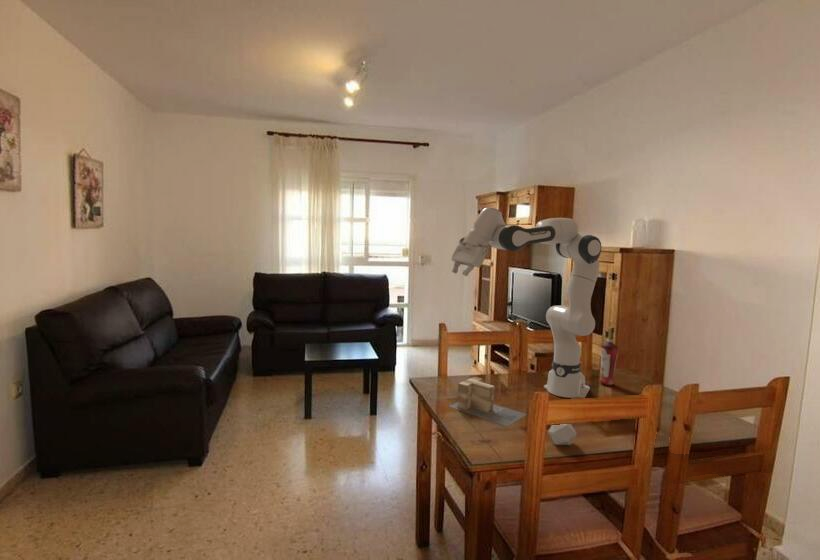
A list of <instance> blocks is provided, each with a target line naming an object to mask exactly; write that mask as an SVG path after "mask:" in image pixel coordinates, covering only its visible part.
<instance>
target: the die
mask: <svg viewBox="0 0 820 560" xmlns="http://www.w3.org/2000/svg"><path fill="white" fill-rule="evenodd" d="M547 433H548V434H549V436H550V437H551V439H552V441H553V443H554V444H556V446H571V445H572V443H573V442H574V439H575V438H576V436H577V432H576V429H575V428H574V426H573V425H572V423H571V424H560V425H552V424H551V425H550V428H549V429H548V432H547Z"/></svg>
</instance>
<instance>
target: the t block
mask: <svg viewBox="0 0 820 560" xmlns="http://www.w3.org/2000/svg"><path fill="white" fill-rule="evenodd" d="M483 381H484V379H483V378H481V377H477V376H472V377H471V378H468V379H465V380H463V381H461V382H458V383H457V398H456V399H457V402H456V403H457V407H459V408H462V409H465V410H466V409H468V408H470V407H472V408H475V409H478V410H481V411H484V412H487V413H488V412H490V411H492V410H493V404H494V400H495V399H494V398H495V397H494V396H495V385H492V384H489V383H485V382H483Z"/></svg>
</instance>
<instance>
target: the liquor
mask: <svg viewBox="0 0 820 560" xmlns="http://www.w3.org/2000/svg"><path fill="white" fill-rule="evenodd" d="M607 327H608V328H607V332H608V334H607V339H606V342H605V343H602V344H601V352H600V356H601V357H600V375H599V377H600V378H599V380H598V381H599V382H600V384H601V383H602V385H603V384H605V385H604V386H606V385H611V386H613V385H614V384H615V381H614V380H615V372H616V364H617V359H618V349H619V346H618V344H617V345H616V344H615V343H614V333H615V327H614V326H607Z"/></svg>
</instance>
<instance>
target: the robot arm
mask: <svg viewBox="0 0 820 560" xmlns="http://www.w3.org/2000/svg"><path fill="white" fill-rule="evenodd" d="M533 244H534V245H535V244H540V245H555V250H556V253H557V255H559V256H560V257H562V258H566V259H572V260H573V262H574V264H573V268H572V271H571V273H570V276H569V279H568V282H567V285H566V288H565V294H566V296H567V297H568V306H565V305H560V304H559V305H552V306H550V307H549V308H548V309H547V311H546V314H545V320H546V322H547V323H548V325H549V327H550V330H551V333H552V337H553V346H554V347H553V348H554V349H553V359H552V362H551V369H550V370H549V371H548V376H547V382H546V384H544V385H543V388H544V389H545V390H547V392H548V393H550V394H552V395H554V396H557V397H560V398H561V397H562V398H567V399H568V398H569V399H572V398H573V399H574V398H578V399H579V398H580V399H581V398H582V399H584V398H586V396H587V394H588V393H589V391H590V386H589V385H586V377H585V375H584V374H583V373H582V372H581V369H582V368H581V367H582V366H583V361H580V358H581V345H580V344H579V342H578V341H577V339H576V336H584V337H586V336H590V334H592V333H593V332H594V330H595V328H596V320H595V318H594V316H593V314H592V313H593V312H592V309H591V308H592V307H591V302H592V296H593V293H594V289H595V286H596V282H597V281H598V276H599V270H600V265H601V264H600V263H601V262H600V261H599V257H600V255H601V253H602V243H601V240H600V238H598V237H597V236H594V235H592V234H582V233H579V226H578V223H577V221H576V220H574V219H573V218H568V217H552V218H546V219H542V220H539V221H537V223H536V225H535V227H529V228H525V227H523V226H519V225H507V224H506V223H505V221H504V218H503V213H502V211H501V210H499V209H497V208H494V207H484V208H483V209H482V210H481V211H480V213H479V214H478V216H477V217H476V220H475V221H474V222H473V227H472V228H471V229H470V230H469V232H468V234H467V235H465V236H464V237H461V238H460V239H459V240H458V245H457V246H456V248H455V250H454V252H453V254H452V255H451V261H453V262H454V263H453V268H452V270H451V272H452V273H453V274H458V271H459V267H460V266H461V265H463V266H466V268H465V269H463V271H462V273H461V274H462V276H465V277H468V276H469V274H470V273H471V272H472V270H474V269H475V268H478V269H479V268H481V266H482V265H483V263H484V261H485V259H486V256H487V253H488V252H487V251H488V245H490V247H492V248H494V249H497V250H505V251H511V252H517V251H520V250H521V249H523V248H525V247H526V246H528V245H529V246H530V245H533Z"/></svg>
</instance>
